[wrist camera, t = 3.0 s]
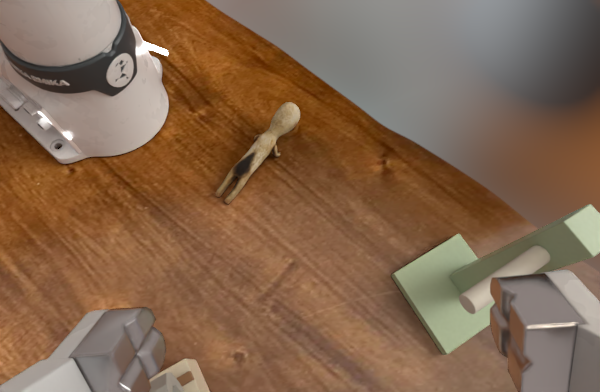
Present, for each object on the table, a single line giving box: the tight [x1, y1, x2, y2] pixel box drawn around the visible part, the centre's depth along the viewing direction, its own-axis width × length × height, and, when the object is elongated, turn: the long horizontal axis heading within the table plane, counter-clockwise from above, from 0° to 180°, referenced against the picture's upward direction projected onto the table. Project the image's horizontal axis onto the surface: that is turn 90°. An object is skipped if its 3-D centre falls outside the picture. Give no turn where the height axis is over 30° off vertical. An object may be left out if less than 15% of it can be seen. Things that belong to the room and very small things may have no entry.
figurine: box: [215, 102, 300, 204], centre depth 49 cm, size 4×4×15 cm
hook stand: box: [391, 204, 600, 355], centre depth 36 cm, size 12×10×20 cm
